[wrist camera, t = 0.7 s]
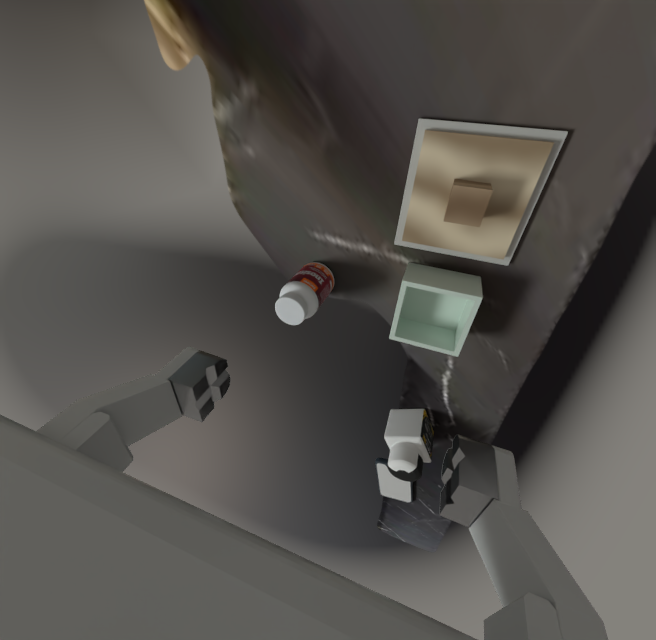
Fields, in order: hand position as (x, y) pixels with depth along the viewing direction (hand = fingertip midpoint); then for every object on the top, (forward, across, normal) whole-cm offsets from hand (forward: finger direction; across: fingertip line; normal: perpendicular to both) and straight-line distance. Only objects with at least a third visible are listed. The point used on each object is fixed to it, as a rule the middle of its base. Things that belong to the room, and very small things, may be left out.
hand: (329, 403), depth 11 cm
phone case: (+38, -9, +69) cm, 79 cm away
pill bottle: (+37, +14, +17) cm, 43 cm away
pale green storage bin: (+37, -5, +16) cm, 40 cm away
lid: (+36, -5, 0) cm, 36 cm away
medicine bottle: (+37, -8, +44) cm, 58 cm away
